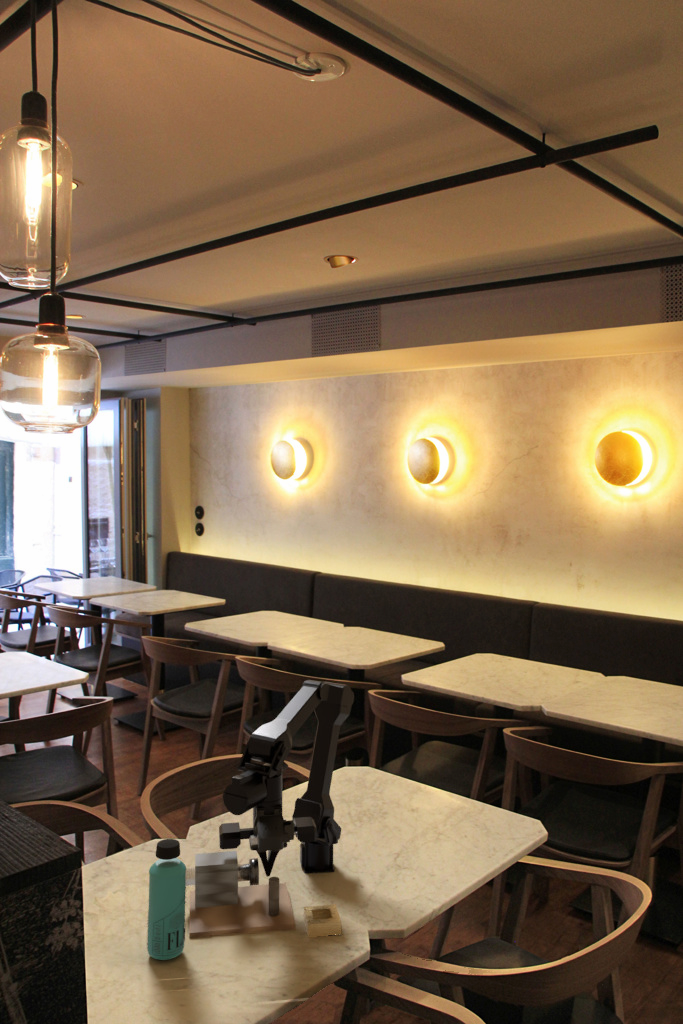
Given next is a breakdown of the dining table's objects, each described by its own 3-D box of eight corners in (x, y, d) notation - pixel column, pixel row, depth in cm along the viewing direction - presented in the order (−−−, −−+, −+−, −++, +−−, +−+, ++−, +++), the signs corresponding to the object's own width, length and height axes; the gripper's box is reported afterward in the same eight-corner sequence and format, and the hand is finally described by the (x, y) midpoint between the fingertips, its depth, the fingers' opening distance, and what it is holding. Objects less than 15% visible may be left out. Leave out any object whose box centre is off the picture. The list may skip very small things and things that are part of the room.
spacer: (335, 917, 150) (335, 904, 149) (340, 935, 144) (341, 921, 144) (303, 920, 148) (303, 907, 148) (308, 938, 143) (308, 924, 142)
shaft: (256, 877, 157) (257, 853, 157) (258, 889, 152) (258, 865, 152) (181, 883, 154) (181, 859, 154) (181, 896, 150) (181, 871, 150)
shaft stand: (286, 888, 160) (286, 843, 160) (295, 929, 145) (295, 880, 145) (190, 896, 156) (190, 851, 156) (189, 939, 142) (189, 889, 141)
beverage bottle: (165, 974, 132) (169, 854, 131) (137, 960, 135) (140, 844, 135) (192, 955, 137) (196, 840, 137) (164, 943, 141) (168, 831, 140)
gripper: (220, 817, 145) (221, 901, 145) (321, 809, 148) (321, 891, 149) (218, 794, 156) (219, 872, 156) (312, 787, 159) (312, 864, 160)
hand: (267, 875), depth 155 cm, fingers closed
